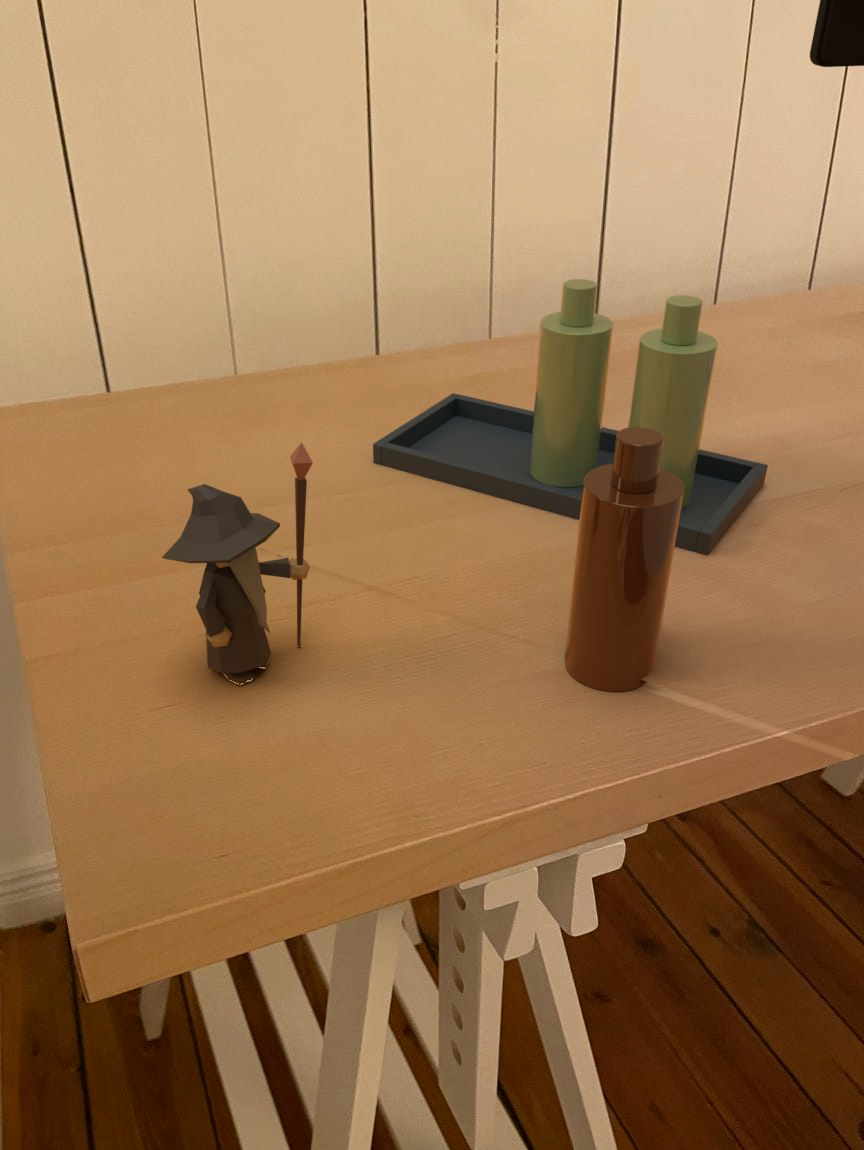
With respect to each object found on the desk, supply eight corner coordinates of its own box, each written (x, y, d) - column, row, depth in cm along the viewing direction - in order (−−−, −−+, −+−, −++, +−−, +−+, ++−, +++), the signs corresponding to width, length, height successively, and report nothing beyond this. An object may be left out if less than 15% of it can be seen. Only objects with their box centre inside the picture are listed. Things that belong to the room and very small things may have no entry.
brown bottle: (667, 656, 56) (707, 428, 48) (633, 702, 53) (670, 466, 45) (587, 630, 58) (613, 408, 50) (549, 672, 55) (571, 442, 47)
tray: (762, 491, 72) (768, 464, 70) (706, 563, 64) (711, 534, 63) (452, 416, 84) (452, 392, 82) (373, 469, 76) (372, 443, 75)
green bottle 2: (700, 491, 71) (735, 296, 63) (675, 519, 67) (709, 317, 60) (635, 475, 73) (661, 284, 65) (608, 501, 70) (632, 304, 62)
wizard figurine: (248, 714, 53) (222, 509, 46) (166, 681, 55) (130, 482, 48) (335, 634, 58) (324, 441, 51) (258, 608, 61) (237, 420, 54)
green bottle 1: (607, 468, 74) (629, 279, 66) (579, 493, 71) (599, 298, 63) (548, 453, 76) (562, 269, 68) (518, 477, 73) (530, 287, 65)
